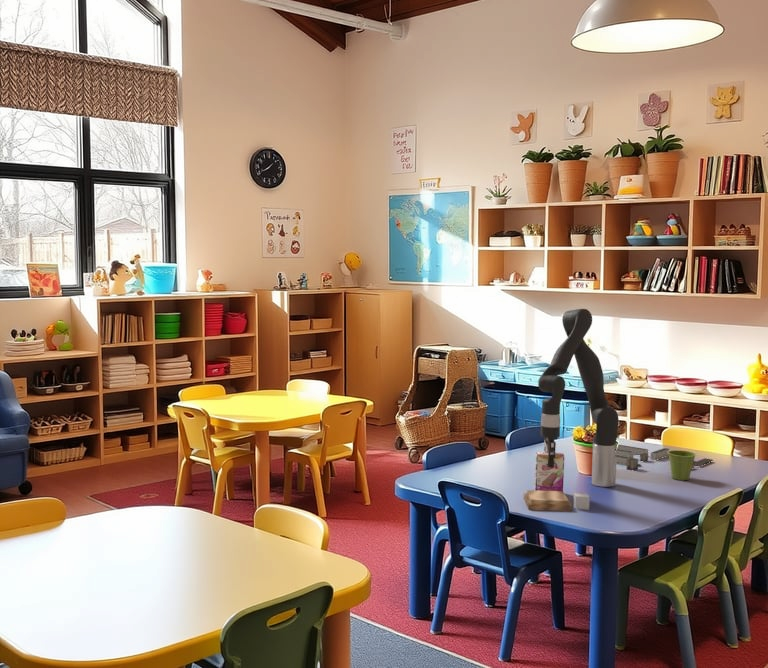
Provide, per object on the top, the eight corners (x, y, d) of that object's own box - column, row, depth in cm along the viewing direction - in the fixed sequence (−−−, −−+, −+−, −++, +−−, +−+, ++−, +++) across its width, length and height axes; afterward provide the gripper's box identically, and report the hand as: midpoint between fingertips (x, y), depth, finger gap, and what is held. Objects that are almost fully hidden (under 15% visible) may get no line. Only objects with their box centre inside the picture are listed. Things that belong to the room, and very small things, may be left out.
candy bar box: (535, 494, 353) (536, 454, 352) (534, 491, 358) (535, 451, 357) (563, 495, 352) (564, 455, 351) (562, 492, 357) (563, 452, 356)
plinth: (564, 499, 347) (564, 490, 347) (571, 510, 331) (571, 501, 331) (523, 498, 348) (523, 489, 347) (528, 509, 332) (528, 500, 331)
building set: (581, 462, 414) (581, 451, 414) (624, 448, 445) (624, 438, 445) (673, 478, 384) (673, 467, 383) (712, 463, 415) (713, 452, 415)
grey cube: (586, 505, 338) (587, 493, 338) (589, 509, 333) (589, 496, 333) (573, 505, 338) (573, 492, 338) (575, 509, 333) (576, 496, 333)
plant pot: (670, 481, 377) (672, 455, 376) (663, 475, 389) (664, 449, 388) (699, 482, 376) (700, 456, 376) (690, 475, 388) (691, 450, 387)
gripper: (562, 428, 346) (561, 469, 347) (557, 421, 360) (556, 461, 361) (543, 427, 346) (542, 468, 347) (538, 421, 360) (537, 460, 361)
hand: (549, 465), depth 354 cm, fingers open, 8 cm apart
